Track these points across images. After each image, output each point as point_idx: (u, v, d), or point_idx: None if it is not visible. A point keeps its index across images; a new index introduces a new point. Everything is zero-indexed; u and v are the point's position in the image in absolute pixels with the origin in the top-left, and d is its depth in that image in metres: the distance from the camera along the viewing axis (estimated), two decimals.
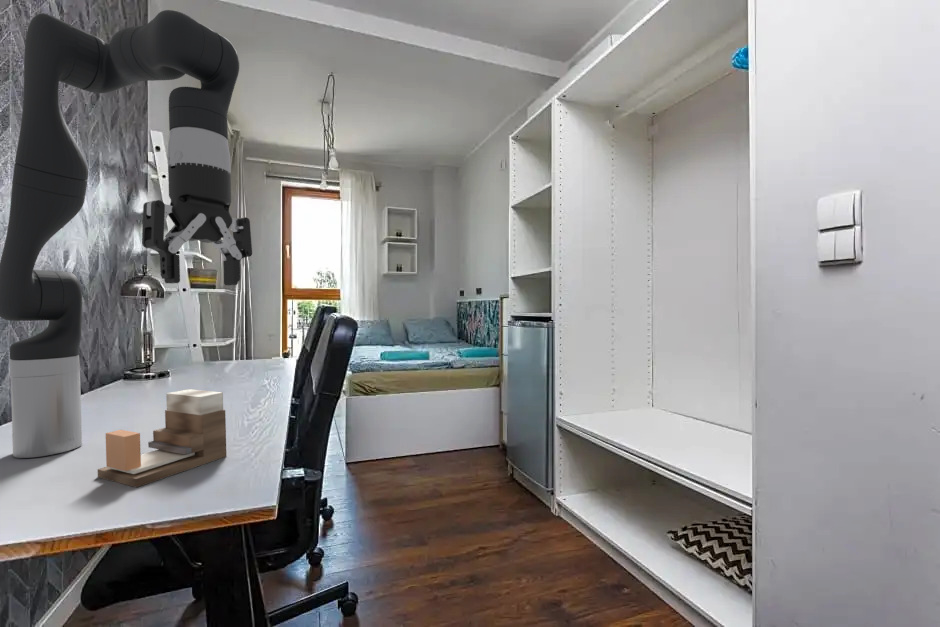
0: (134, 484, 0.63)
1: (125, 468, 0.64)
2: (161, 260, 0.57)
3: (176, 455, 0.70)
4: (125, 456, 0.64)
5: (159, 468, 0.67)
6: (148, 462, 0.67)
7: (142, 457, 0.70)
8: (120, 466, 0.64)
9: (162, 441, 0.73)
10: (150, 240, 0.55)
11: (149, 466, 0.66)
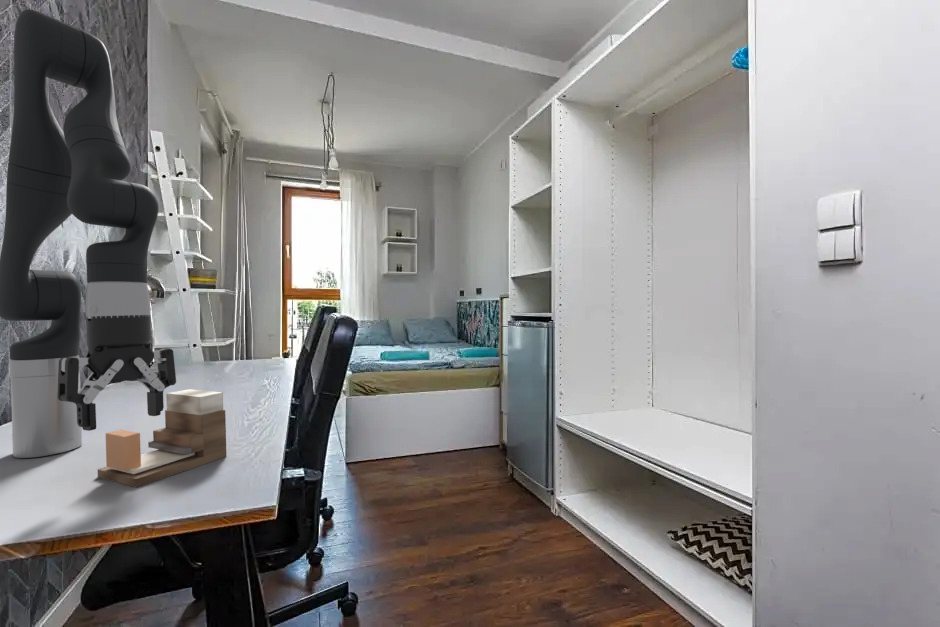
0: (134, 484, 0.63)
1: (125, 468, 0.64)
2: (77, 410, 0.61)
3: (176, 455, 0.70)
4: (125, 456, 0.64)
5: (159, 468, 0.67)
6: (148, 462, 0.67)
7: (142, 457, 0.70)
8: (120, 466, 0.64)
9: (162, 441, 0.73)
10: (64, 396, 0.59)
11: (149, 466, 0.66)
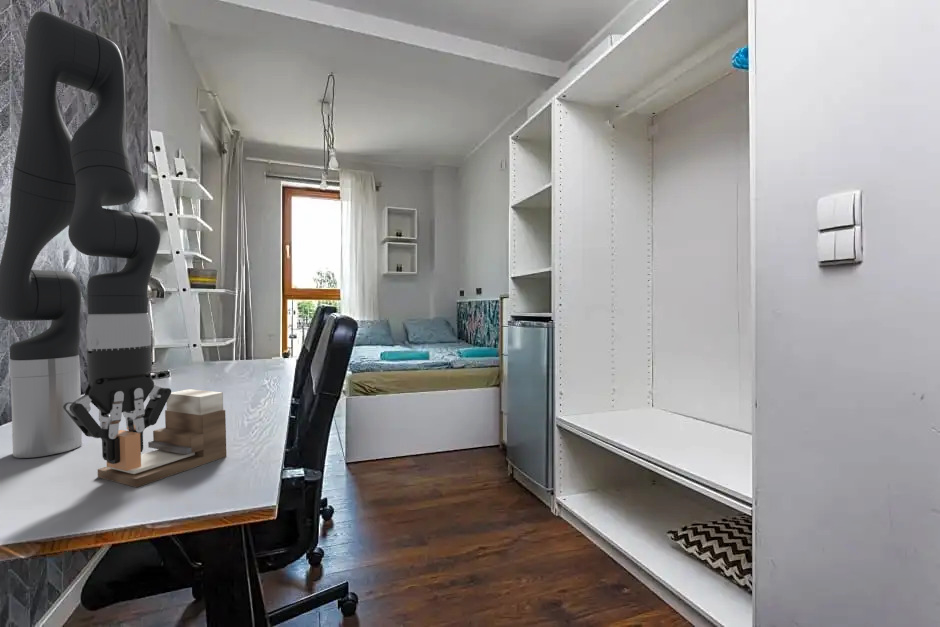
0: (134, 484, 0.63)
1: (125, 468, 0.64)
2: (103, 444, 0.64)
3: (176, 455, 0.70)
4: (126, 456, 0.64)
5: (159, 468, 0.67)
6: (148, 462, 0.67)
7: (142, 457, 0.70)
8: (120, 466, 0.64)
9: (162, 441, 0.73)
10: None
11: (149, 466, 0.66)
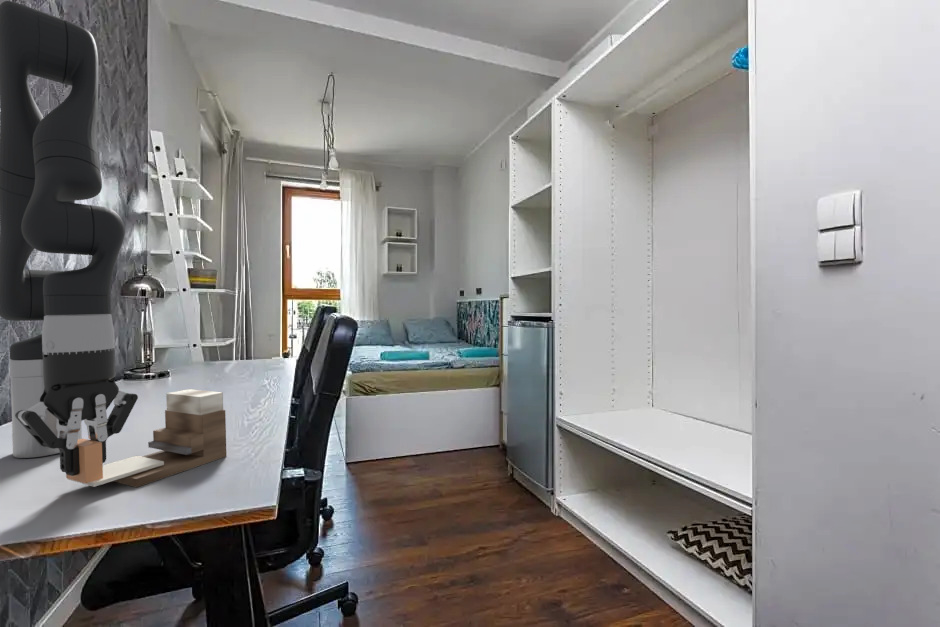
0: (134, 484, 0.63)
1: (85, 480, 0.59)
2: (60, 455, 0.59)
3: (143, 465, 0.66)
4: (85, 467, 0.59)
5: (159, 468, 0.67)
6: (111, 473, 0.63)
7: (106, 467, 0.65)
8: (80, 478, 0.60)
9: (162, 441, 0.73)
10: None
11: (112, 478, 0.61)
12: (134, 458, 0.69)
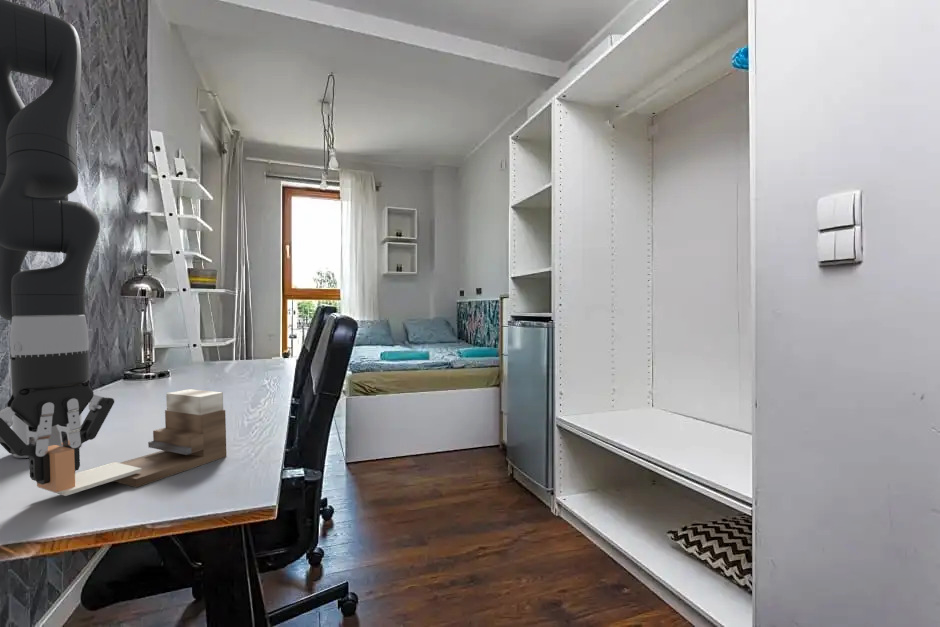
0: (134, 484, 0.63)
1: (55, 489, 0.57)
2: (30, 462, 0.57)
3: (119, 472, 0.63)
4: (56, 475, 0.57)
5: (159, 468, 0.67)
6: (85, 481, 0.60)
7: (81, 475, 0.62)
8: (51, 486, 0.57)
9: (162, 441, 0.73)
10: None
11: (85, 486, 0.59)
12: (111, 465, 0.66)
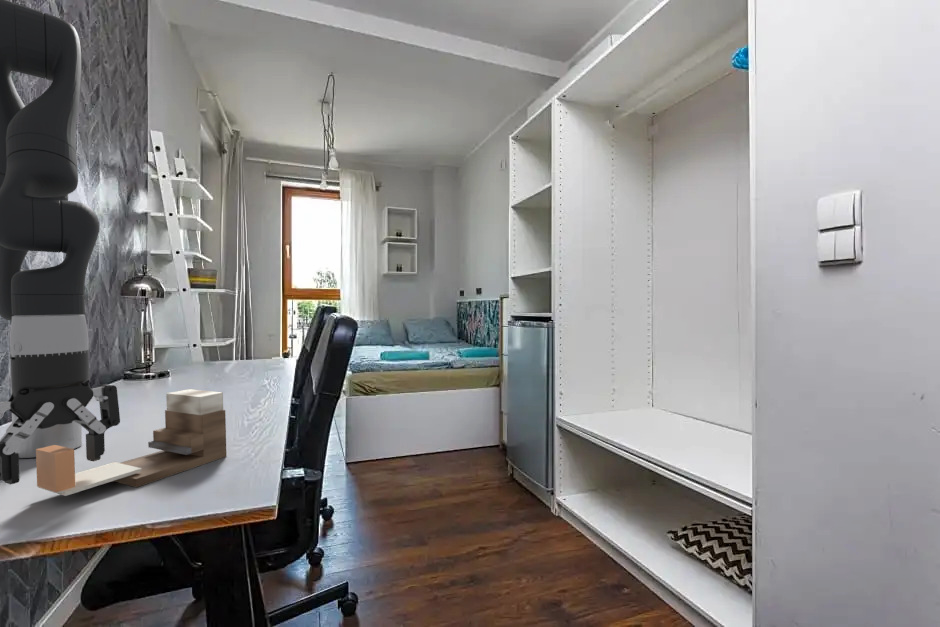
0: (134, 484, 0.63)
1: (55, 489, 0.57)
2: None
3: (119, 472, 0.63)
4: (56, 475, 0.57)
5: (159, 468, 0.67)
6: (85, 481, 0.60)
7: (81, 475, 0.62)
8: (51, 486, 0.57)
9: (162, 441, 0.73)
10: None
11: (85, 486, 0.59)
12: (111, 465, 0.66)
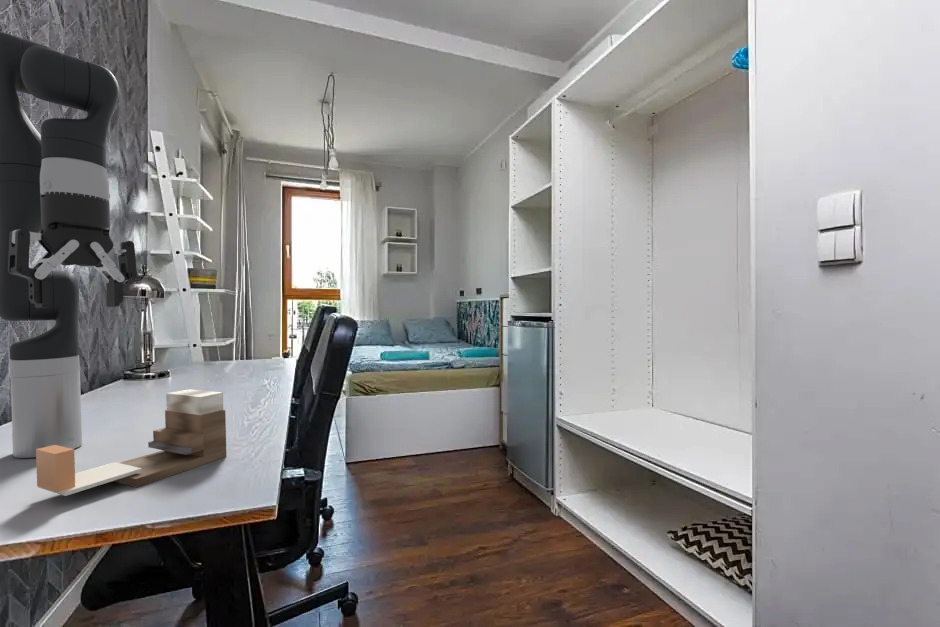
0: (134, 484, 0.63)
1: (55, 489, 0.57)
2: (29, 286, 0.60)
3: (119, 472, 0.63)
4: (56, 475, 0.57)
5: (159, 468, 0.67)
6: (85, 481, 0.60)
7: (81, 475, 0.62)
8: (51, 486, 0.57)
9: (162, 441, 0.73)
10: (14, 267, 0.58)
11: (85, 486, 0.59)
12: (111, 465, 0.66)
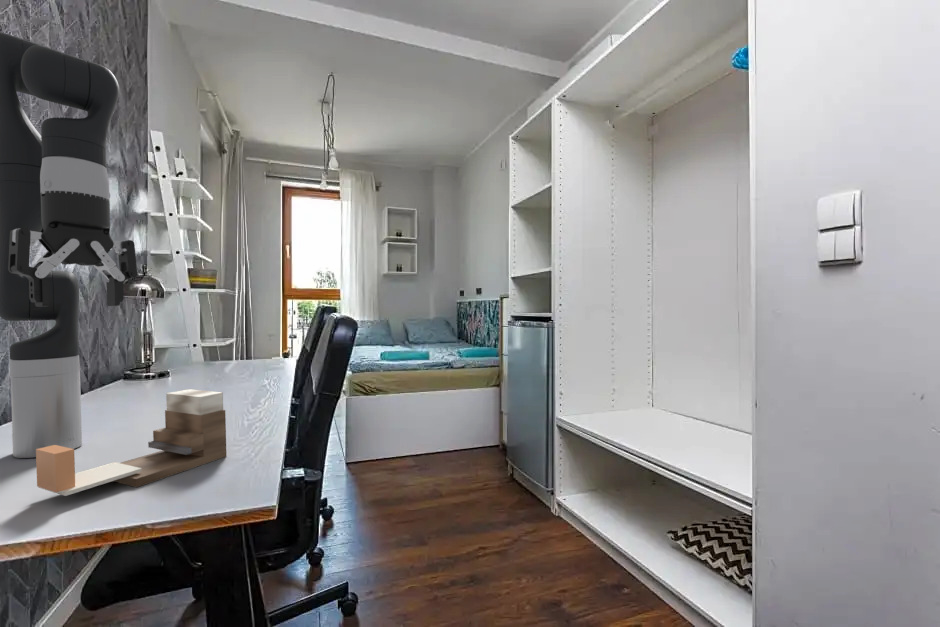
0: (134, 484, 0.63)
1: (55, 489, 0.57)
2: (30, 285, 0.60)
3: (119, 472, 0.63)
4: (56, 475, 0.57)
5: (159, 468, 0.67)
6: (85, 481, 0.60)
7: (81, 475, 0.62)
8: (51, 486, 0.57)
9: (162, 441, 0.73)
10: (14, 266, 0.58)
11: (85, 486, 0.59)
12: (111, 465, 0.66)
